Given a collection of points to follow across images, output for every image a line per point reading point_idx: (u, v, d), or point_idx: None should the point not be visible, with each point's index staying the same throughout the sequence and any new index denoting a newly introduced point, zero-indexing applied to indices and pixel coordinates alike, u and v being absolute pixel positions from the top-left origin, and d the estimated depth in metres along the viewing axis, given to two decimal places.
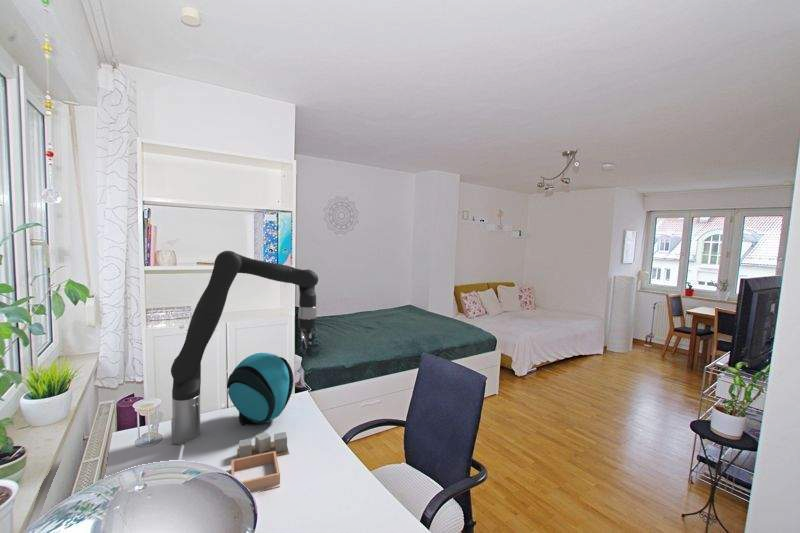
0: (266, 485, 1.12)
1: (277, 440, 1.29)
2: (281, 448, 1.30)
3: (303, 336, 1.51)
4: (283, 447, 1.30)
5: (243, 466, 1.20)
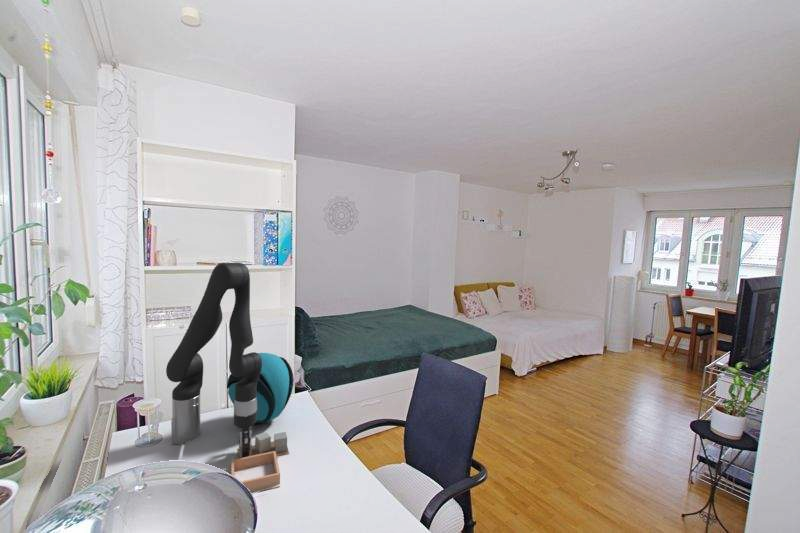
0: (266, 485, 1.12)
1: (277, 440, 1.29)
2: (281, 448, 1.30)
3: (240, 435, 1.24)
4: (283, 447, 1.30)
5: (243, 466, 1.20)
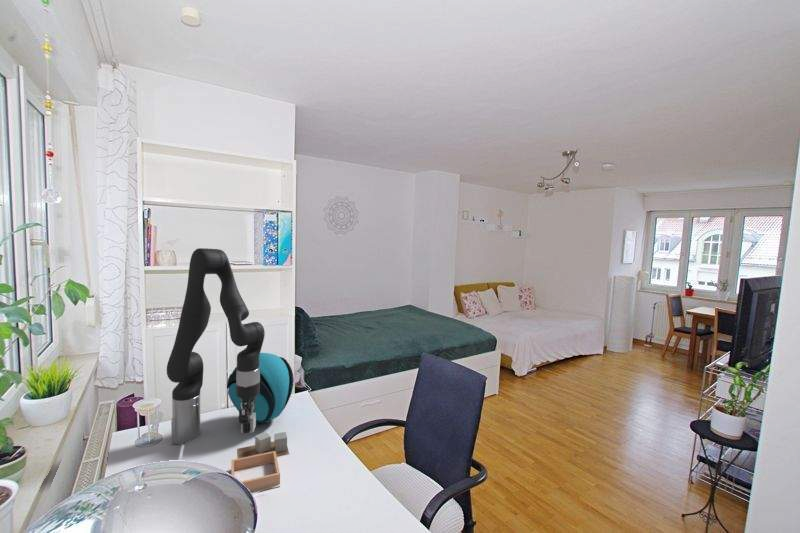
0: (266, 485, 1.12)
1: (277, 440, 1.29)
2: (281, 448, 1.30)
3: (241, 406, 1.20)
4: (283, 447, 1.30)
5: (243, 466, 1.20)
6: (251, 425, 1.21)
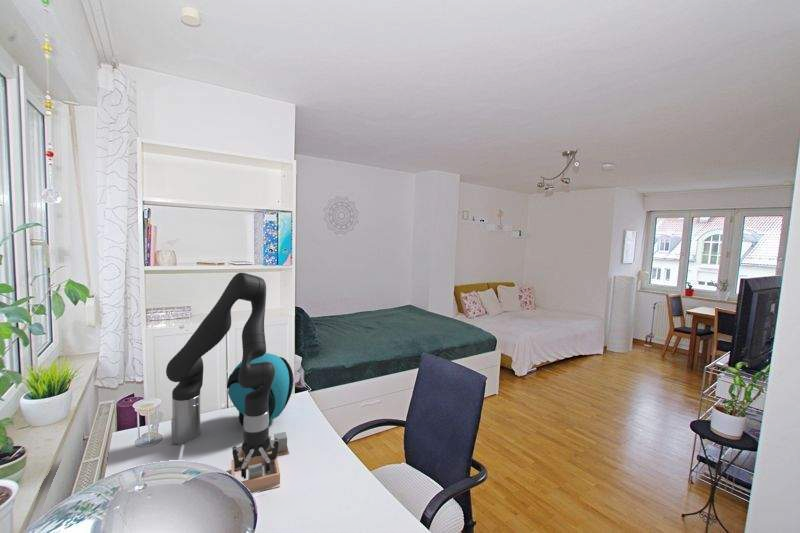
0: (266, 485, 1.12)
1: None
2: (281, 448, 1.30)
3: None
4: (283, 447, 1.30)
5: None
6: (248, 479, 1.12)
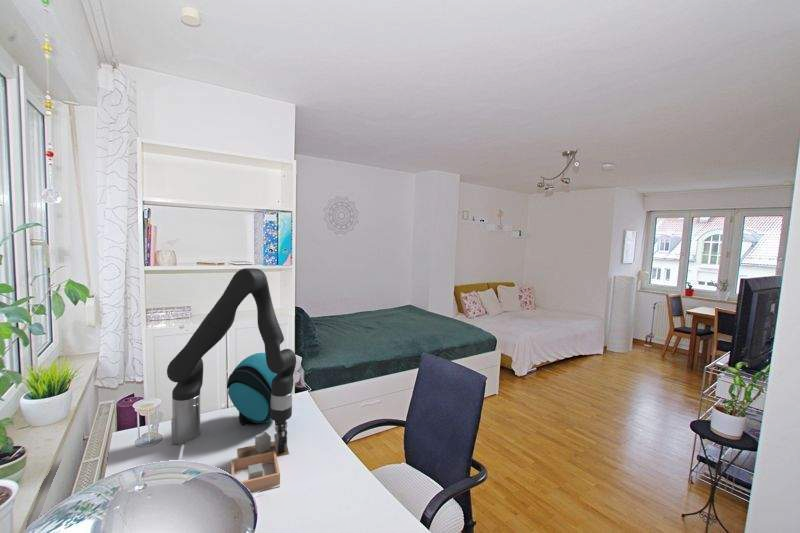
0: (266, 485, 1.12)
1: (277, 440, 1.29)
2: None
3: (276, 428, 1.29)
4: None
5: (243, 466, 1.20)
6: (248, 479, 1.12)
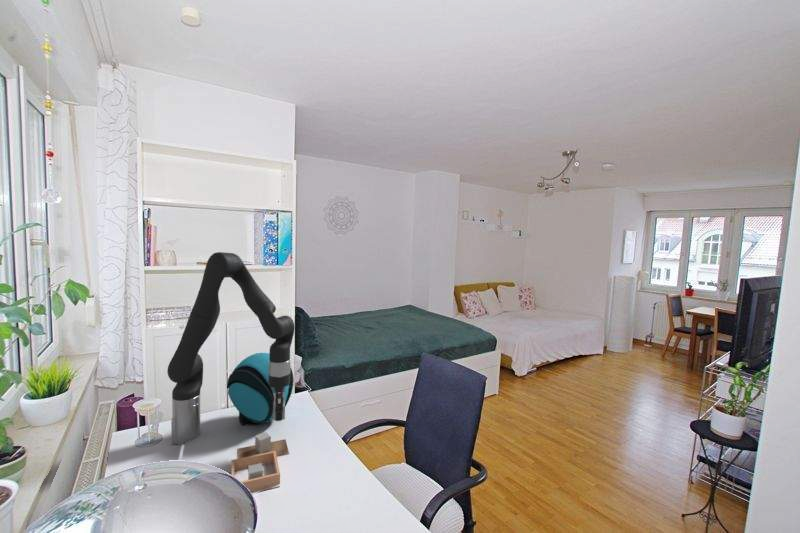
0: (266, 485, 1.12)
1: None
2: None
3: None
4: None
5: (243, 466, 1.20)
6: (248, 479, 1.12)
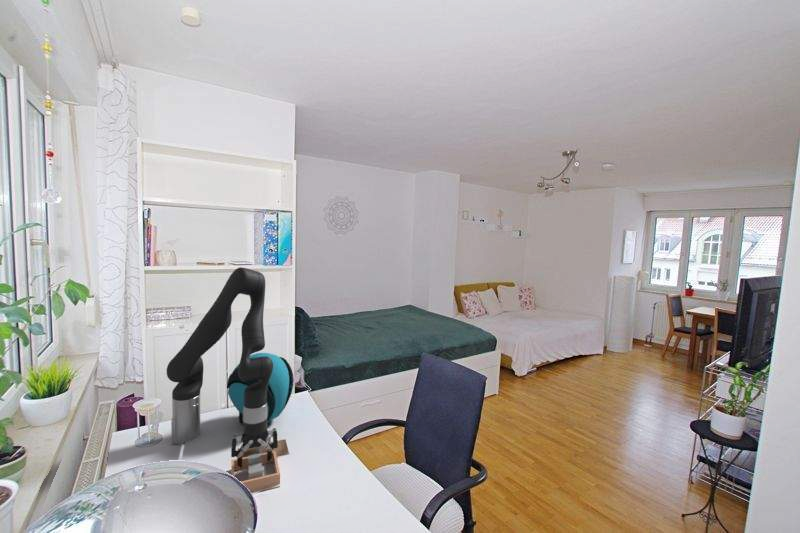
0: (266, 485, 1.12)
1: (248, 458, 1.19)
2: None
3: None
4: None
5: (243, 466, 1.20)
6: (248, 479, 1.12)
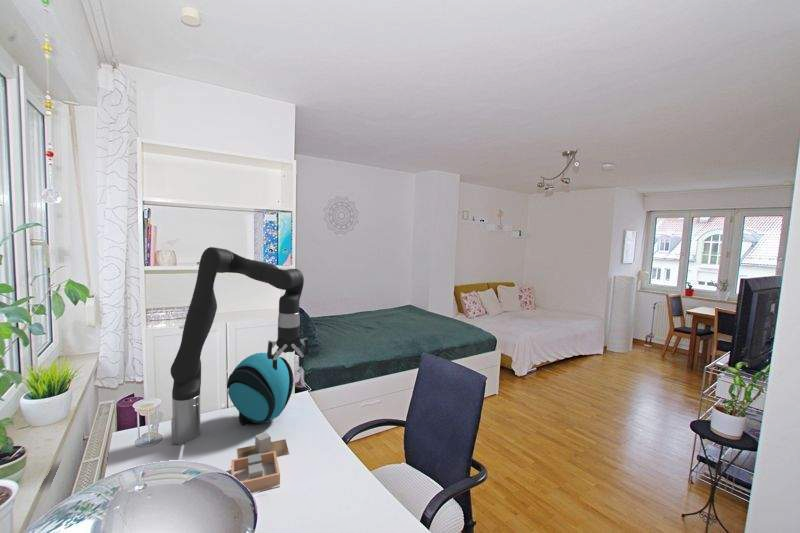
0: (266, 485, 1.12)
1: (248, 458, 1.19)
2: None
3: None
4: None
5: (243, 466, 1.20)
6: (248, 479, 1.12)
